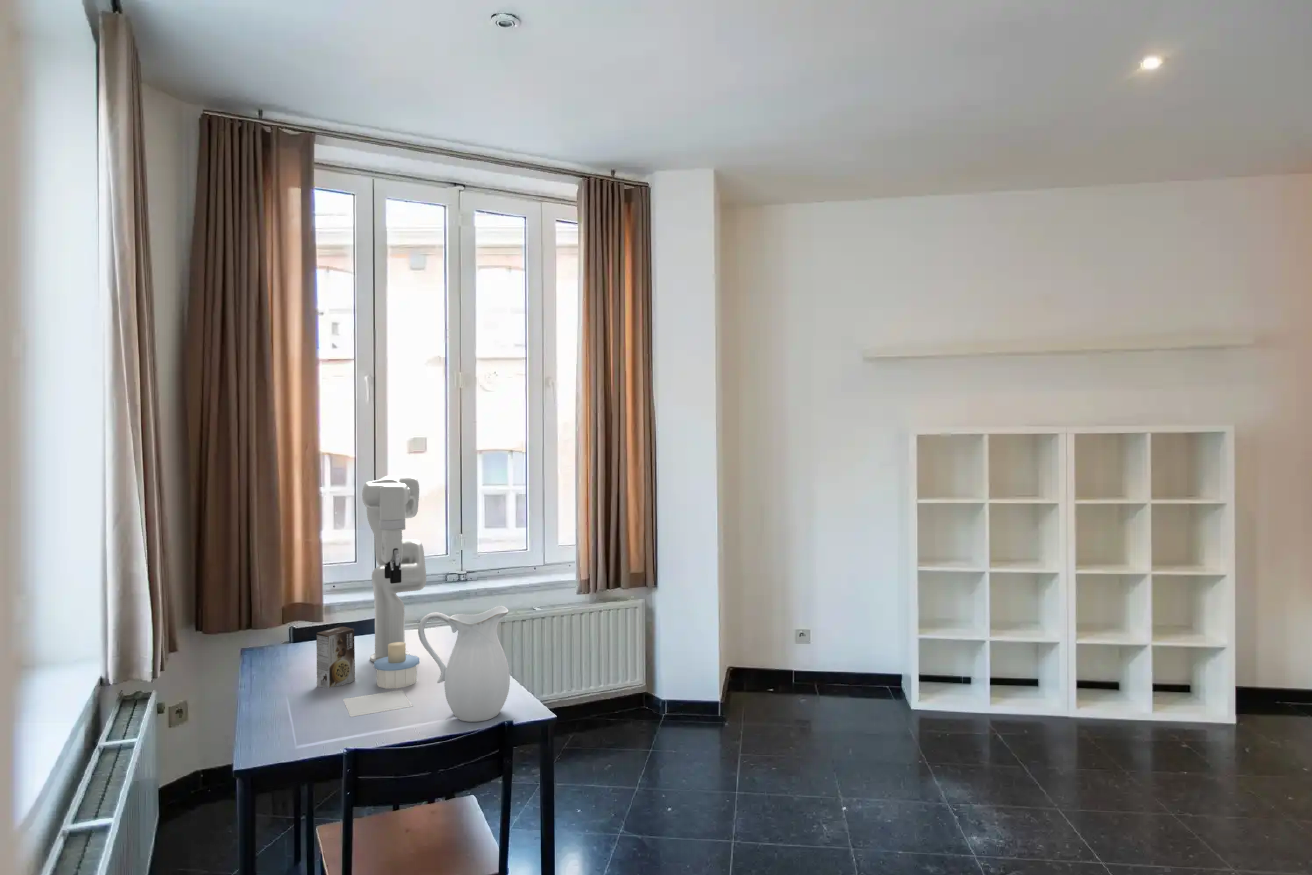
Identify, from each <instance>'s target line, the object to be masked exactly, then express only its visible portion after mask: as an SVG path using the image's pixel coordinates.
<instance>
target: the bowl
mask: <svg viewBox="0 0 1312 875" xmlns="http://www.w3.org/2000/svg"><path fill="white" fill-rule="evenodd" d="M417 667H418V665H416V666H414V667H411V668H408V669H403V670H394V671H384V670H378V669H376V685H377V687H379V688H382V689H399V688H406V687H409V686H411V685H412V686H413V685H415V683H416V682H417V681H418V680H417V679H418V678H417V677H418V676H417V675H418V674H417V672H418V670H417Z"/></svg>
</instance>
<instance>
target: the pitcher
mask: <svg viewBox="0 0 1312 875" xmlns="http://www.w3.org/2000/svg"><path fill="white" fill-rule="evenodd" d="M507 614H509V609H508V608H507V607H506V606H504V605H497V606H495V607H492V608H490V609H488V610H486V611H482V612H479V613H475V614H471V613H470V614H469V613H468V614H467V613H457V614H453V615H450V616H449V615H447V614H445V613H441V612H430V613H428V614H426V615H425V616H423V617H422V618H421V620H420V622H419V624H418V628H417V634H418V638H419V641H420V642H421V644H422V646H423V647H424V649H425V650H426V651H427V652H428V653H429V655H430V656H431V657H432V659H433V660H434V661H435V662H436V665H437V666H438V667H439V671H440V675H439V678H438V680H437V682H436V683H437V684H440V683H443V682H444V693H445V699H446V702H447V705H448V706H449V709H450V710H451V712H452V714H453V715H454V717H455V718H456V719H458V720H460V721H462V722H472V723H474V722H476V723H478V722H484V721H487V720H488V721H489V720H492V719H494V718H495V717H497V716H498V715H499V714H500V712H501V710H502V709H503V708H504V705H505V703H506V701H507V698H508V695H509V692H510V691H509V690H510V685H511V683H510V680H511V674H510V668H509V663H508V659H507V657H506V653H505V651H504V649H503V646H502V644H501V641H500V639H499V636H498V625H499V623H500V622H501V621H502V619H503V618H504V617H505V616H506V615H507ZM436 619H437V620H441V621H443V622H445V623H446V624H447V625H449V626H450V628H451V632H452V633H453V634H456V632H457V634H456V635H457V636H456V641H455V643H454V646H453V648H452V651H451V653H450V656H449V658H448V662H447V665H446V664H445V663H444V661H443V660H442V659H441V658H440V657H439V656H438V655H439V654H438V653H436V652H435V650H434V649H433V647H432V646H431V644H430V643H429V642H428V639H427V637H426V634H425V627H426V625H427V623H428V622H429V621H431V620H436Z"/></svg>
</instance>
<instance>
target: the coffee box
mask: <svg viewBox="0 0 1312 875" xmlns="http://www.w3.org/2000/svg"><path fill="white" fill-rule="evenodd" d="M315 638H316V686H317V687H320V688H323V689H326V688H334V687H339V686H344V685H346V684H350V683H353V682H355V681H356V661H355V660H356V659H355V658H356V657H355V656H356V655H355V653H356V652H355V648H356V647H355V628H350V627H348V626H347V627H346V626H338V627H334V628H331V629H327V630H323V631H319V632H316V637H315Z"/></svg>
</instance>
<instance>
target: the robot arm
mask: <svg viewBox="0 0 1312 875" xmlns="http://www.w3.org/2000/svg"><path fill="white" fill-rule="evenodd" d="M361 496H362V503H363V505H364V507H366V515H367V516H366V518H367V521H368V525H369V526H370V529H371V531H372V533H373V535H374V547H375V562H376V563H377V565H378V566H377V567H375V568H374V569H373V571H372V572H371V573H372V574H371V585H372V590H373V598H374V599H373V600H374V601H373V602H374V653H372V654H371V655H370V656H369V660H370V661H371V662H372V663H374V662H375V661H376V660H378V659H381V658H384V657H388V644H390V643H395V642H404V643H406V641H405V638H406V636H405V633H406V632H405V629H406V627H405V626H406V625H405V624H406V623H405V620H406V619H405V614H406V612H405V604H404V601H403V600H402V599H401V598H400V597H399V596H398V595H397V593H406V592H407V593H408V592H418V591H421V590H423V589H424V588H425V587H426V584H427V569H426V560H425V559H426V558H425V550H424V546H423V544H422V542H421V541H420V540H418V539H414V538H413V539H411V538H410V539H403V531H404V530H406V519H412V518H414V517H416V516H417V514H418V512H419V500H420V483H419V481H418V479H417V478H416V477H415V476H413V475H407V474H405V475H385V476H382V477H380V478H379V479H377V480H372V481H367V482H365V483H364V485H363V487H362V491H361ZM406 655H411V654H410V652H409V651H407V650H406Z"/></svg>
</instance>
